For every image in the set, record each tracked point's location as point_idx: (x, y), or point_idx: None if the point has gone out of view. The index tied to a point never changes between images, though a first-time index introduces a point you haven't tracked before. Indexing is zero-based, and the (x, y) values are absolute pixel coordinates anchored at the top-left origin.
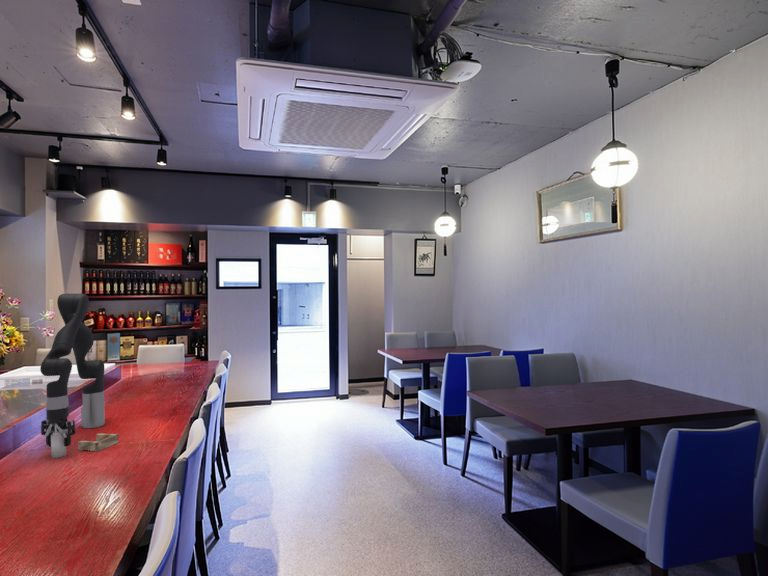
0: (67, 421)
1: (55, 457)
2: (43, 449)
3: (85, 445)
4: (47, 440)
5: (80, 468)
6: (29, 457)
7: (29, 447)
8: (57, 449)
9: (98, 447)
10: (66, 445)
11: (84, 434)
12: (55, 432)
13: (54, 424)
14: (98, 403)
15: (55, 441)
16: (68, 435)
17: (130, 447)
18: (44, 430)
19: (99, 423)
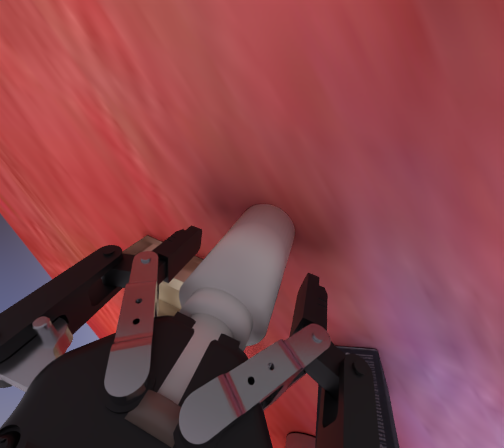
0: (15, 383)
1: (262, 204)
2: (390, 332)
3: (183, 269)
4: (309, 297)
5: (50, 26)
6: (420, 249)
7: (485, 385)
8: (240, 223)
9: (136, 243)
10: (189, 230)
11: (302, 402)
12: (213, 318)
13: (165, 410)
14: None
15: (228, 250)
16: (117, 251)
17: (86, 240)
18: (339, 399)
19: (289, 445)
